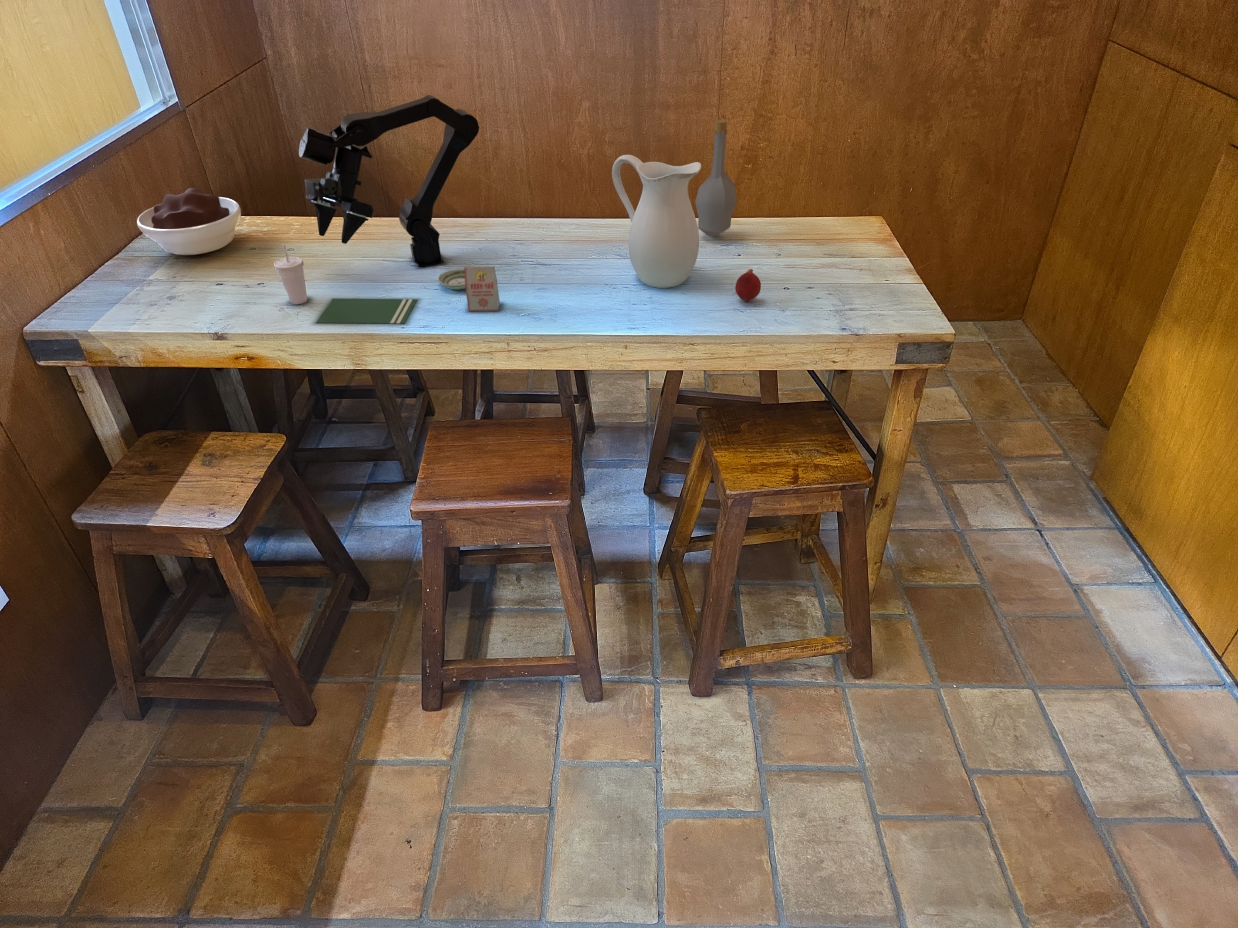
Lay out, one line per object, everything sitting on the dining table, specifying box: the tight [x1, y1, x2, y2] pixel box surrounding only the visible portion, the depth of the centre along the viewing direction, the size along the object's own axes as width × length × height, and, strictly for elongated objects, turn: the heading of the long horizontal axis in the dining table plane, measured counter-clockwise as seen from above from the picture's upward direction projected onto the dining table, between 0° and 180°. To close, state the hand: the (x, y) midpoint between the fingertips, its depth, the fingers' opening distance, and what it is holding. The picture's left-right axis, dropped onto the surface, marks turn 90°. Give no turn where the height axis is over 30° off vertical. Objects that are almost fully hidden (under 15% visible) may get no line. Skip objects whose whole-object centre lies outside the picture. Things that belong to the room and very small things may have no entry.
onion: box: [734, 268, 762, 303], centre depth 180 cm, size 6×6×8 cm
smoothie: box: [273, 243, 308, 305], centre depth 181 cm, size 6×6×14 cm
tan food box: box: [463, 265, 501, 313], centre depth 178 cm, size 4×7×10 cm, turn 91°
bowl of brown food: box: [136, 187, 242, 256], centre depth 206 cm, size 25×25×15 cm
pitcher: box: [611, 154, 702, 289], centre depth 186 cm, size 24×17×28 cm
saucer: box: [437, 268, 466, 291], centre depth 190 cm, size 10×10×2 cm
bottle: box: [694, 119, 738, 238], centre depth 204 cm, size 11×11×30 cm
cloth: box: [315, 298, 418, 325], centre depth 180 cm, size 20×12×1 cm, turn 88°
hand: (332, 239), depth 184 cm, fingers open, 9 cm apart
